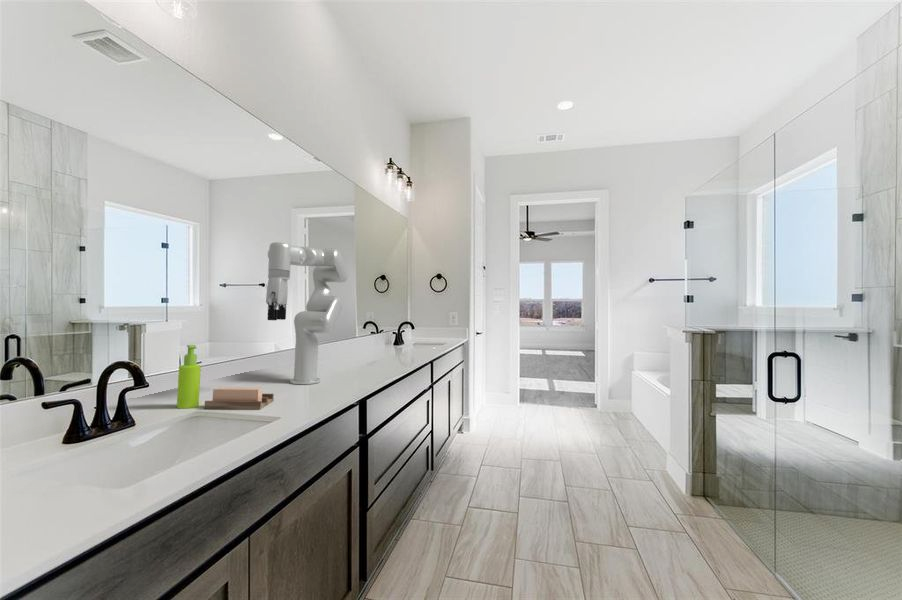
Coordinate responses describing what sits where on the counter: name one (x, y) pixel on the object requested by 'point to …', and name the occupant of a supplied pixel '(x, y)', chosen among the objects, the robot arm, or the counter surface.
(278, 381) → the counter surface
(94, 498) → the counter surface
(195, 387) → the soap dispenser
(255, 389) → the pink rectangular block
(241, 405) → the drying rack
